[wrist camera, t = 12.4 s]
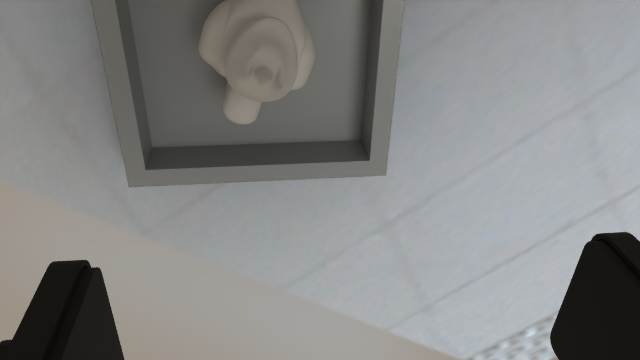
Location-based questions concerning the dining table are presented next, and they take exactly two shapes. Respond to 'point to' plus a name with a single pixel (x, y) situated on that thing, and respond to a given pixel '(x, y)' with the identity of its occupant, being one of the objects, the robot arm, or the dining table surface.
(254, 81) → the beige rounded piece
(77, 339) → the robot arm
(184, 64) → the tray
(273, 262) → the dining table surface
